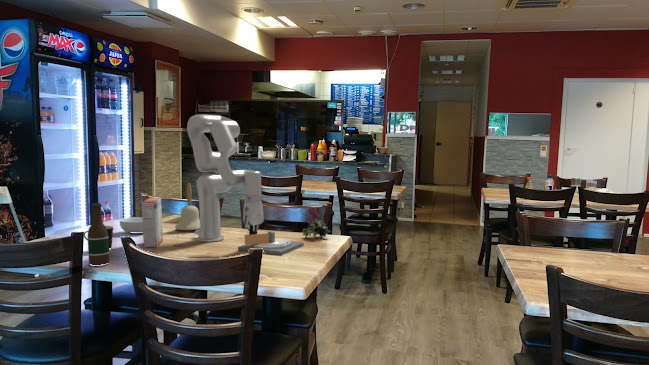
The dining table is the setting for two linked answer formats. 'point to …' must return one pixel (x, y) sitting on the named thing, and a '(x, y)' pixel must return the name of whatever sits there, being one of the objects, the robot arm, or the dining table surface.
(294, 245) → the dial base
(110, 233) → the coffee mug
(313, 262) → the dining table surface
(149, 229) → the cracker box
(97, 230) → the beer bottle
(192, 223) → the handbell
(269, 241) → the dial
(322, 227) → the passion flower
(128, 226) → the cereal bowl
